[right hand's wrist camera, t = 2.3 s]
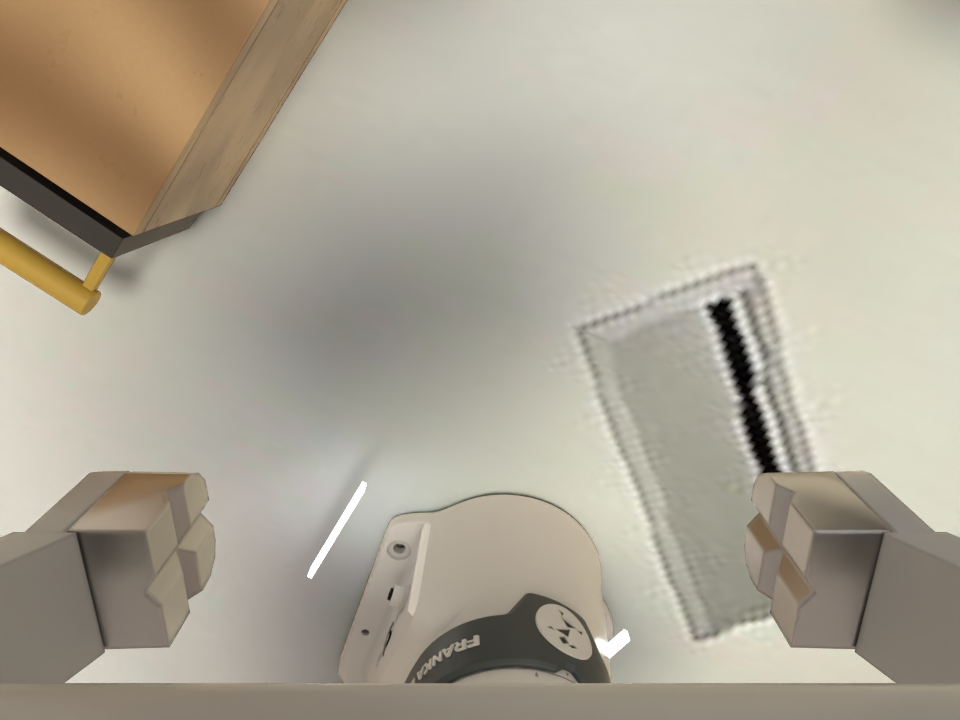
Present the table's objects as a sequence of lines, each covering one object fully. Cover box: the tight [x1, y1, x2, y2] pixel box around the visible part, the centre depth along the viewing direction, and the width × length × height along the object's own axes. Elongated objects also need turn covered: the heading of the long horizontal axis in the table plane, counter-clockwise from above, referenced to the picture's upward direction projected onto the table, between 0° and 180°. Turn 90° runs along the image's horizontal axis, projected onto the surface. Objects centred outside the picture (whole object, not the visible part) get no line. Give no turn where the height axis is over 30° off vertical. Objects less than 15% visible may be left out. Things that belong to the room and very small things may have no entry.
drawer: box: [0, 147, 198, 315], centre depth 33 cm, size 26×10×9 cm, turn 143°
